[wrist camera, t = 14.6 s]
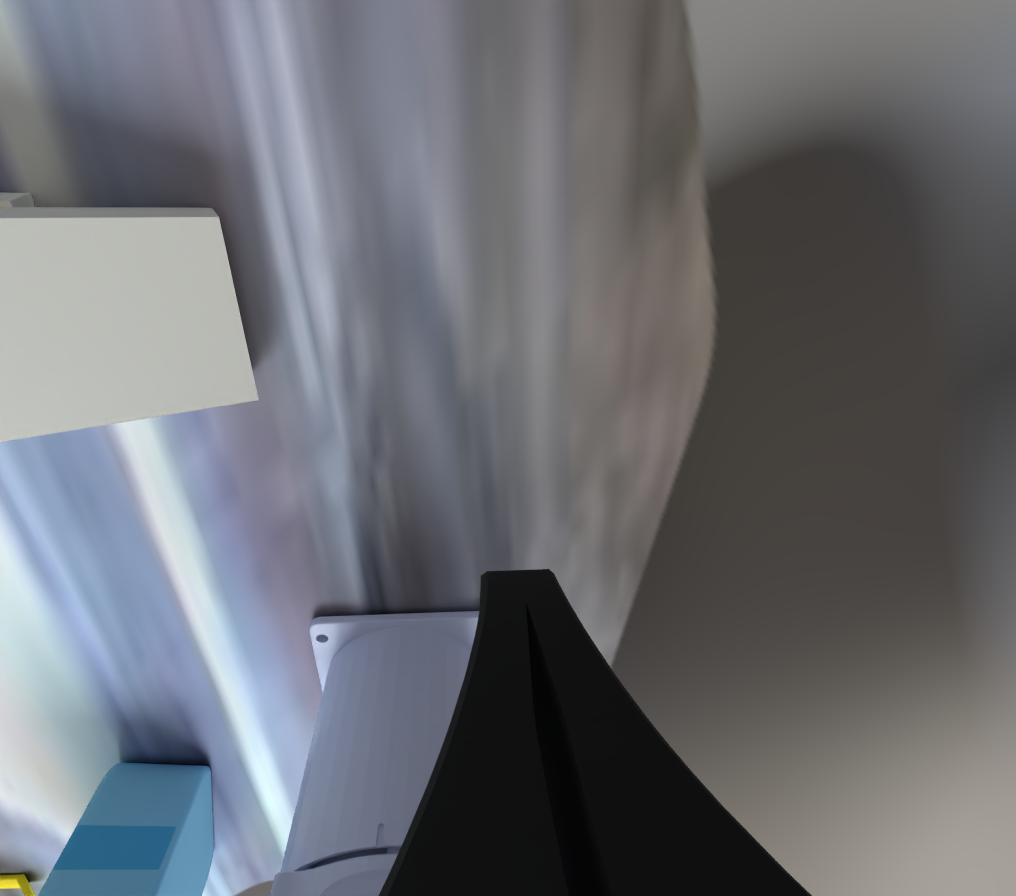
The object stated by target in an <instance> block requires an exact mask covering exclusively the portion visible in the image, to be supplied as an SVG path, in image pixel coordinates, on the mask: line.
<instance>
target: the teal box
mask: <svg viewBox="0 0 1016 896" xmlns="http://www.w3.org/2000/svg"><path fill="white" fill-rule="evenodd" d="M213 852H214V836H213V810H212V784H211V770H210V768H209V767H208V766H197V765H170V764H144V763H119V764H117V765H115V766H114V767H113V768H111V769H110V771H109V772H108V773H107V774H106V775H105V777H104V778H103V780H102V781H101V783H100V785H99V786H98V788H97V790H96V792H95V794H94V795H93V797H92V799H91V801H90V803H89V804H88V806H87V808H86V810H85V812H84V814H83V815H82V817H81V819H80V821H79V823H78V824H77V826H76V828H75V830H74V832H73V833H72V835H71V837H70V839H69V841H68V843H67V844H66V846H65V848H64V850H63V852H62V853H61V855H60V857H59V859H58V861H57V862H56V864H55V866H54V868H53V870H52V872H51V873H50V875H49V877H48V879H47V881H46V882H45V884H44V886H43V888H42V890H41V891H40V893H39V895H38V896H202V893H203V890H204V887H205V884H206V880H207V877H208V874H209V870H210V866H211V862H212V857H213Z"/></svg>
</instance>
